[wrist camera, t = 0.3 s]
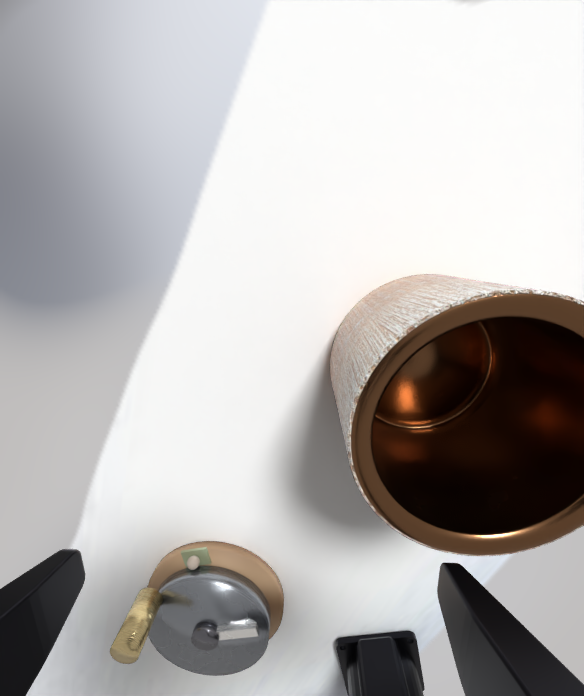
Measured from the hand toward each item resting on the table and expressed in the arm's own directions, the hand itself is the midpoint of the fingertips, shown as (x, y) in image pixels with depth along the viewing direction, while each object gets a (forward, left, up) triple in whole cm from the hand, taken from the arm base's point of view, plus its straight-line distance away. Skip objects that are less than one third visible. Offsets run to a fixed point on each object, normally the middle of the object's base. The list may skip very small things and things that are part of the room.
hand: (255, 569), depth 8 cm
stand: (-18, +10, -14) cm, 25 cm away
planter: (-1, -8, -14) cm, 16 cm away
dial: (-18, +10, -13) cm, 24 cm away
